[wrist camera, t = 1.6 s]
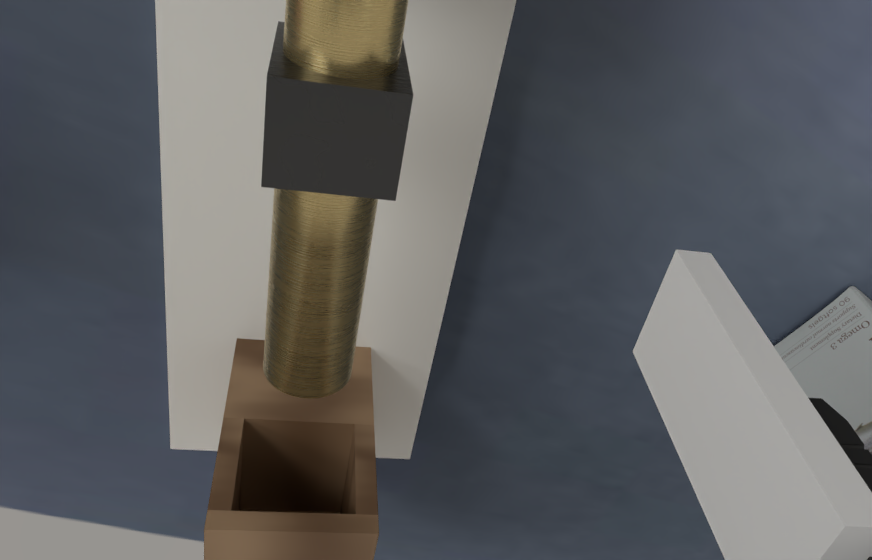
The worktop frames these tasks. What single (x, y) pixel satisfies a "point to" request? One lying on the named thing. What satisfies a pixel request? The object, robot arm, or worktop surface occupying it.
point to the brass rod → (328, 178)
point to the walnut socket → (293, 469)
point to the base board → (253, 205)
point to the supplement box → (837, 359)
